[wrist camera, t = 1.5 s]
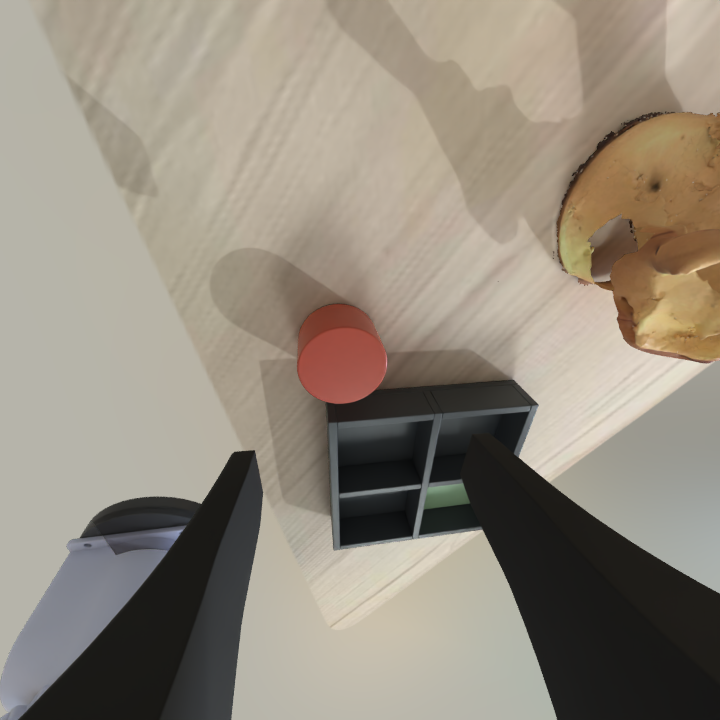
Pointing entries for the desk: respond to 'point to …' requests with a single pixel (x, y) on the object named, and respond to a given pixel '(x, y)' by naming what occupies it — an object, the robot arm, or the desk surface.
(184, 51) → the desk surface
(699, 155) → the curled potato peel
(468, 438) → the grid
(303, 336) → the cylinder
